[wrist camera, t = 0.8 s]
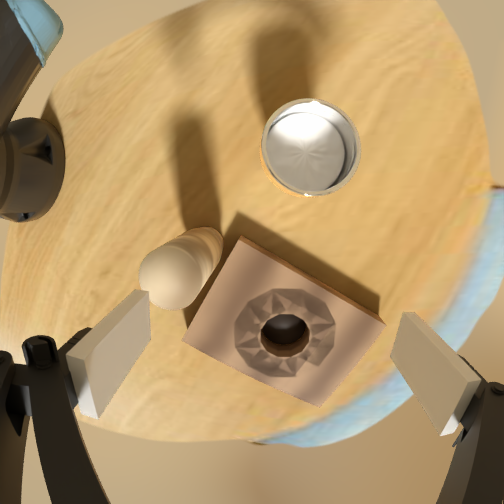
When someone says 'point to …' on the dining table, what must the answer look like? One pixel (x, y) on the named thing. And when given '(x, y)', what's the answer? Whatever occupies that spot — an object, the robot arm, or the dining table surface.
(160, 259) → the peg
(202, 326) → the board
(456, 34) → the dining table surface
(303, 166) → the metal cup
